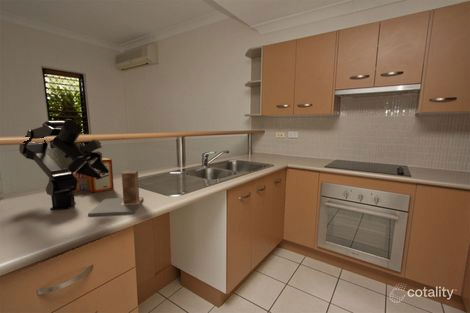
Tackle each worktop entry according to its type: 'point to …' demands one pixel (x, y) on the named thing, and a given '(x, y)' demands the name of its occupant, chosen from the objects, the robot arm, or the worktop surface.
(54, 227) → the worktop surface
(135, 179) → the walnut post
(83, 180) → the orange red carton
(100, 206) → the baseplate
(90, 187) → the baking soda box
